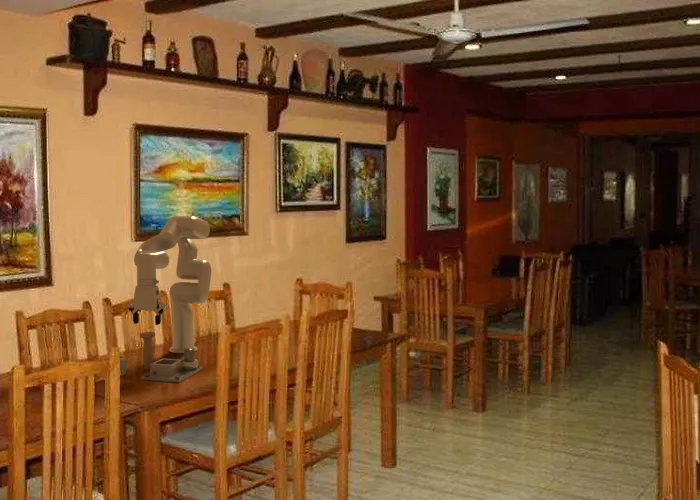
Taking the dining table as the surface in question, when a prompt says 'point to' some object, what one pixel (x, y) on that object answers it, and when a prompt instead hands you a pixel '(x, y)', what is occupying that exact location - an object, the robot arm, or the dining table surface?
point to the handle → (147, 349)
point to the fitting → (174, 368)
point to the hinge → (122, 366)
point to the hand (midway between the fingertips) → (146, 323)
